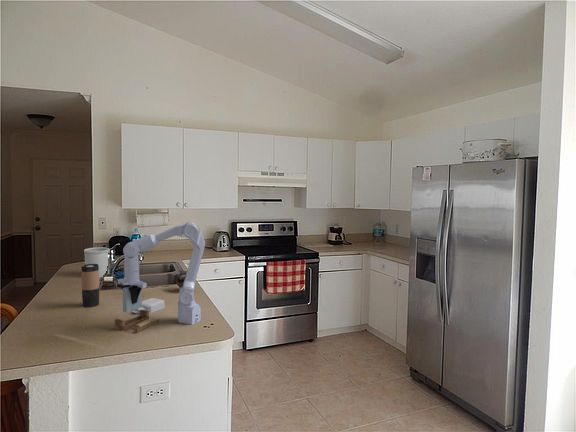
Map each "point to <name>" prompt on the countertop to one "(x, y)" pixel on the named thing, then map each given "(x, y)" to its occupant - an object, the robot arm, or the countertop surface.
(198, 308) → the robot arm
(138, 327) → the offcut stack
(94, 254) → the utensil holder
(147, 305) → the charger
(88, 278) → the travel mug
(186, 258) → the countertop surface
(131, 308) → the board
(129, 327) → the tray
